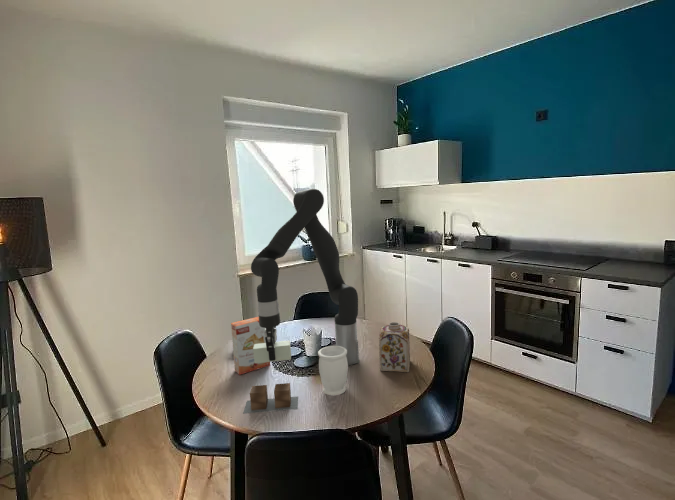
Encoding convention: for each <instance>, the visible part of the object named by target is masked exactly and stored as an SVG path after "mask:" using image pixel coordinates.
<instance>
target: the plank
mask: <svg viewBox="0 0 675 500" xmlns="http://www.w3.org/2000/svg"><path fill="white" fill-rule="evenodd" d="M270 347H272V346H269V348H270ZM253 353H254V363H264V362H270V363H273V362H281V361H291V360H292V347H291V340H283V341H281V340H280V341H276V343H275V358H276V359H275V360H274V361H270V360H269V352H268V351H267V347H266V343H260V344H254V347H253Z"/></svg>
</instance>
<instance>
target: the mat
mask: <svg viewBox="0 0 675 500" xmlns="http://www.w3.org/2000/svg"><path fill="white" fill-rule="evenodd" d="M298 406H299V396H291V406H290V407H284V408H275V397H273V398H268V404H267V408H266V409H260V410H251V401H250V399H249V400H246V403H245V406H244V409H243V412H242V414H253V413H254V414H255V413H265V412H278V411H289V410H298V409H299V407H298Z"/></svg>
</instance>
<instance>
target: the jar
mask: <svg viewBox="0 0 675 500" xmlns="http://www.w3.org/2000/svg"><path fill="white" fill-rule="evenodd" d="M346 354H347V350H346V348H344V347H341V346H336V345H328V346H325V347H322V348H320V349H319V350H318V351H317V355H318V357H319V358H318V372H319V375H320V380H321V384H322V386H323V387H322V392H323V393H324V394H325V395H328V396H339V395H343V394H344V393H345V392H346V390H347V387H346V384H347V380H348V372H349V371H348V370H349V365H348V362H347V357H346Z"/></svg>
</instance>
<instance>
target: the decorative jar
mask: <svg viewBox="0 0 675 500" xmlns="http://www.w3.org/2000/svg"><path fill="white" fill-rule="evenodd" d="M378 341H379V344H378V346H379V348H378V349H379V352H378V353H379V371H381V372H394V373H395V372H398V373H409V372H410V367H411V366H410V363H411V351H410V349H411V347H410V343H411V342H410V328H409V327H407V326H406V325H403V324H400V322H398V321H391V322H389V323H388V324H386V325H385V324H384V326H381V327H380V330H379V337H378Z"/></svg>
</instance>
